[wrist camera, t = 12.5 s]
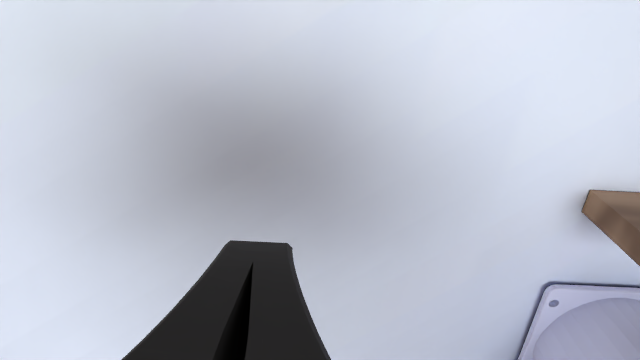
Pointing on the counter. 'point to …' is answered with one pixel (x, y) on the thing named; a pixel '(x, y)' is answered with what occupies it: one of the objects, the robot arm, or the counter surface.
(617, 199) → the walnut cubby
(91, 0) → the counter surface
